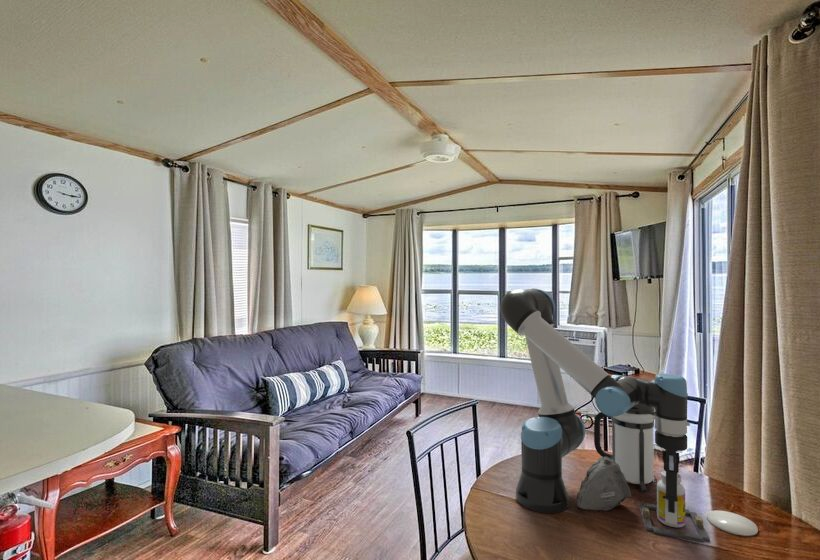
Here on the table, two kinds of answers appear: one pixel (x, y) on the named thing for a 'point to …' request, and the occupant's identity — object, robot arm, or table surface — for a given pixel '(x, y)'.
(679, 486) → the supplement bottle
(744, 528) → the coaster
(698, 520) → the grey square frame
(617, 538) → the table surface
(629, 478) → the coffee press
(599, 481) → the decorative rock
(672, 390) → the robot arm
